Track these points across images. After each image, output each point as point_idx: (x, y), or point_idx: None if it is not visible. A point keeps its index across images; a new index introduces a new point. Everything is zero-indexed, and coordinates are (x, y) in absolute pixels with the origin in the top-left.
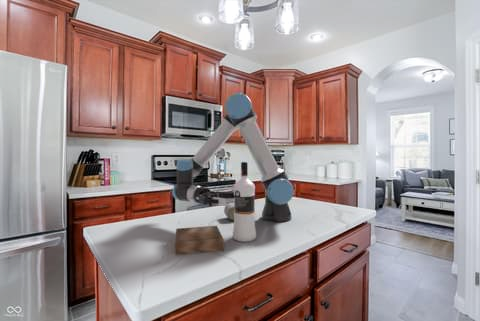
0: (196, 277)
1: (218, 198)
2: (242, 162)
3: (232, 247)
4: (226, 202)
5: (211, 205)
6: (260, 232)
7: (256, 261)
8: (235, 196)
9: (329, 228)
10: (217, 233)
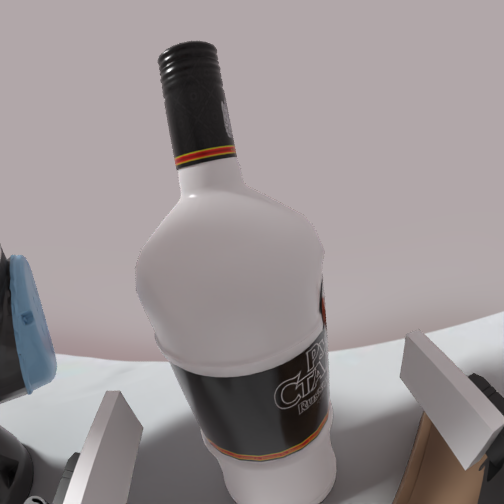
0: (497, 331)
1: (460, 374)
2: (210, 46)
3: (382, 430)
4: (403, 358)
5: (484, 461)
6: (173, 478)
7: (373, 346)
8: (325, 325)
9: (71, 363)
10: (433, 442)
